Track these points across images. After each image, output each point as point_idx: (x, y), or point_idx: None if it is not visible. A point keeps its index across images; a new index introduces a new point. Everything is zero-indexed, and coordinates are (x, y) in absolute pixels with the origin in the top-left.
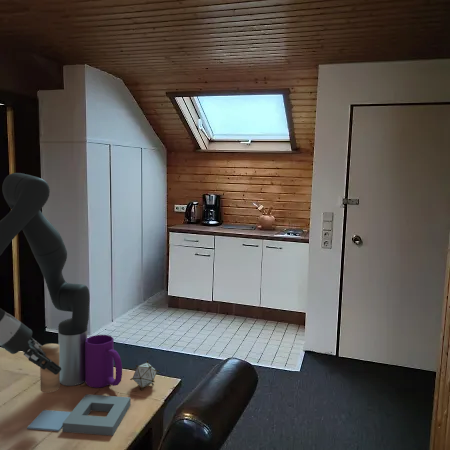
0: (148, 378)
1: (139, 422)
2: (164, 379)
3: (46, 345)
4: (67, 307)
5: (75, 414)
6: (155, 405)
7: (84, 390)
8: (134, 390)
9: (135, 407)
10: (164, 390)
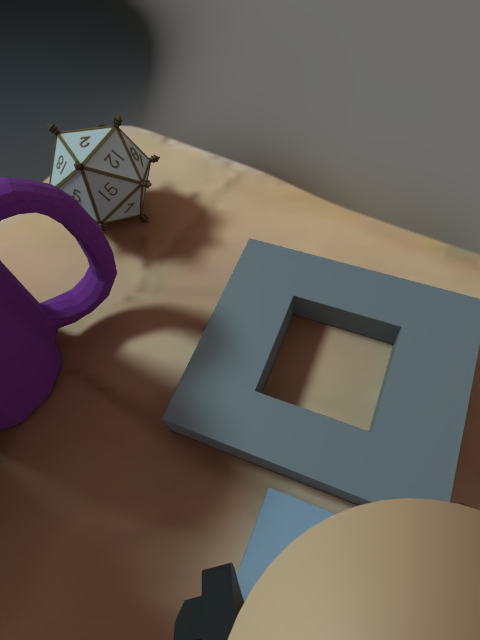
0: (144, 163)
1: (384, 234)
2: None
3: None
4: None
5: (361, 464)
6: (273, 186)
7: (52, 441)
8: (137, 244)
9: None
10: (174, 158)
